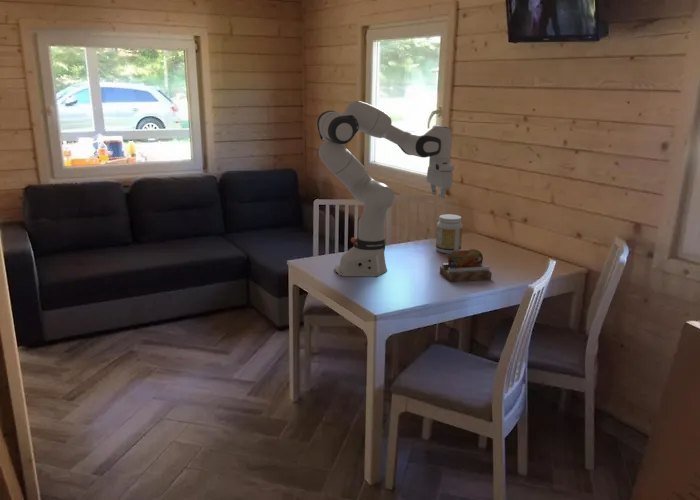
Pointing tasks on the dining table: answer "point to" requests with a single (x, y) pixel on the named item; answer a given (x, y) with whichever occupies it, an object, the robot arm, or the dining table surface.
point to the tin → (465, 258)
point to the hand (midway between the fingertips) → (437, 196)
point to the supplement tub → (449, 233)
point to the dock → (465, 273)
